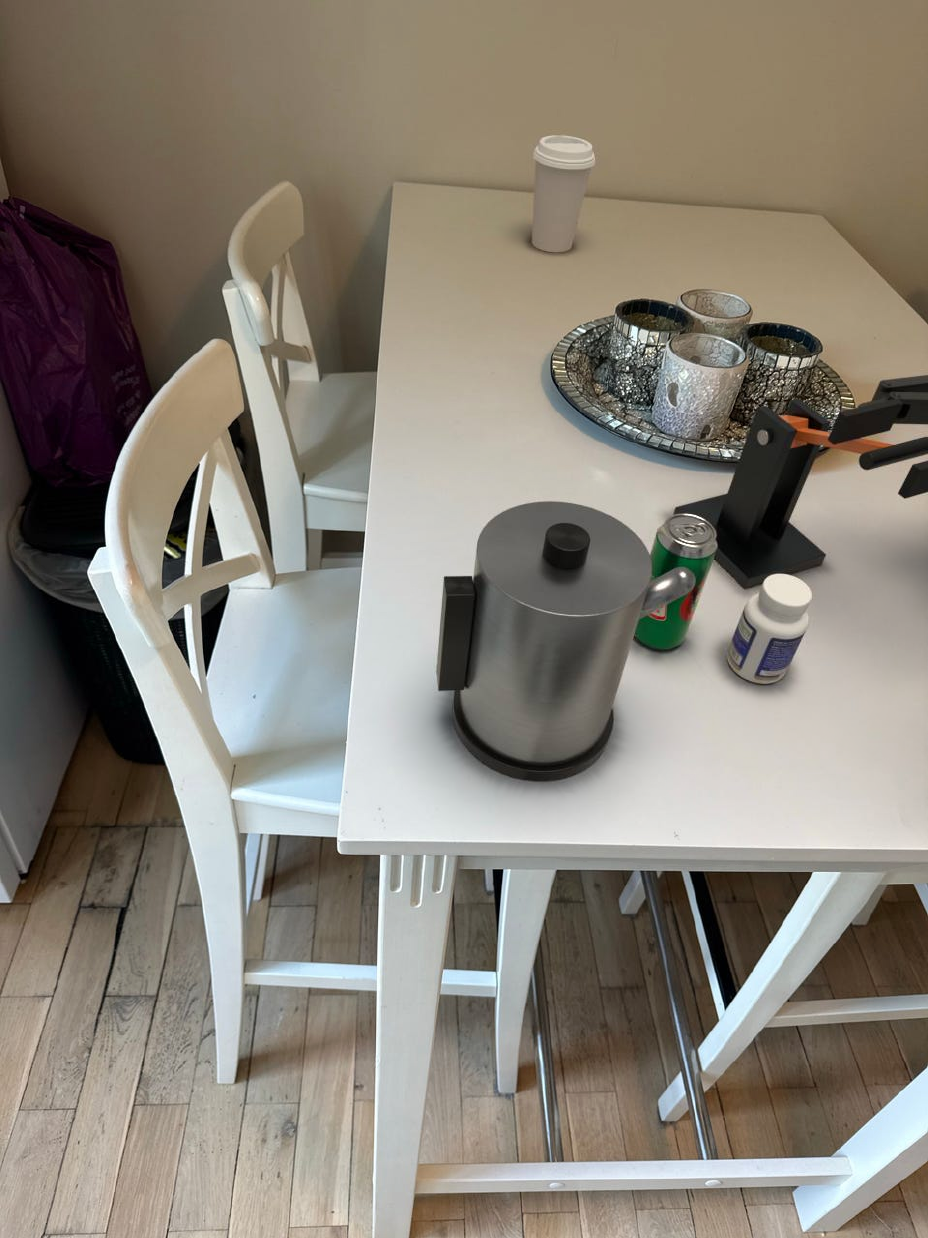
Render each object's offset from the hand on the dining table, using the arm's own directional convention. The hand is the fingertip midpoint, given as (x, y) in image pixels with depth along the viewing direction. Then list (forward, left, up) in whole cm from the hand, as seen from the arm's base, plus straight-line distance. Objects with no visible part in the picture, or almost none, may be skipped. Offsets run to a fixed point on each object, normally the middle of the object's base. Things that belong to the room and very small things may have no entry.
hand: (871, 454), depth 70 cm
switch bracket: (+11, +1, -18) cm, 21 cm away
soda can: (-2, +14, -18) cm, 23 cm away
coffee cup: (+86, +8, -18) cm, 88 cm away
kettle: (-11, +27, -18) cm, 34 cm away
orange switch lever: (+6, -1, -4) cm, 7 cm away
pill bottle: (-6, +6, -18) cm, 20 cm away
